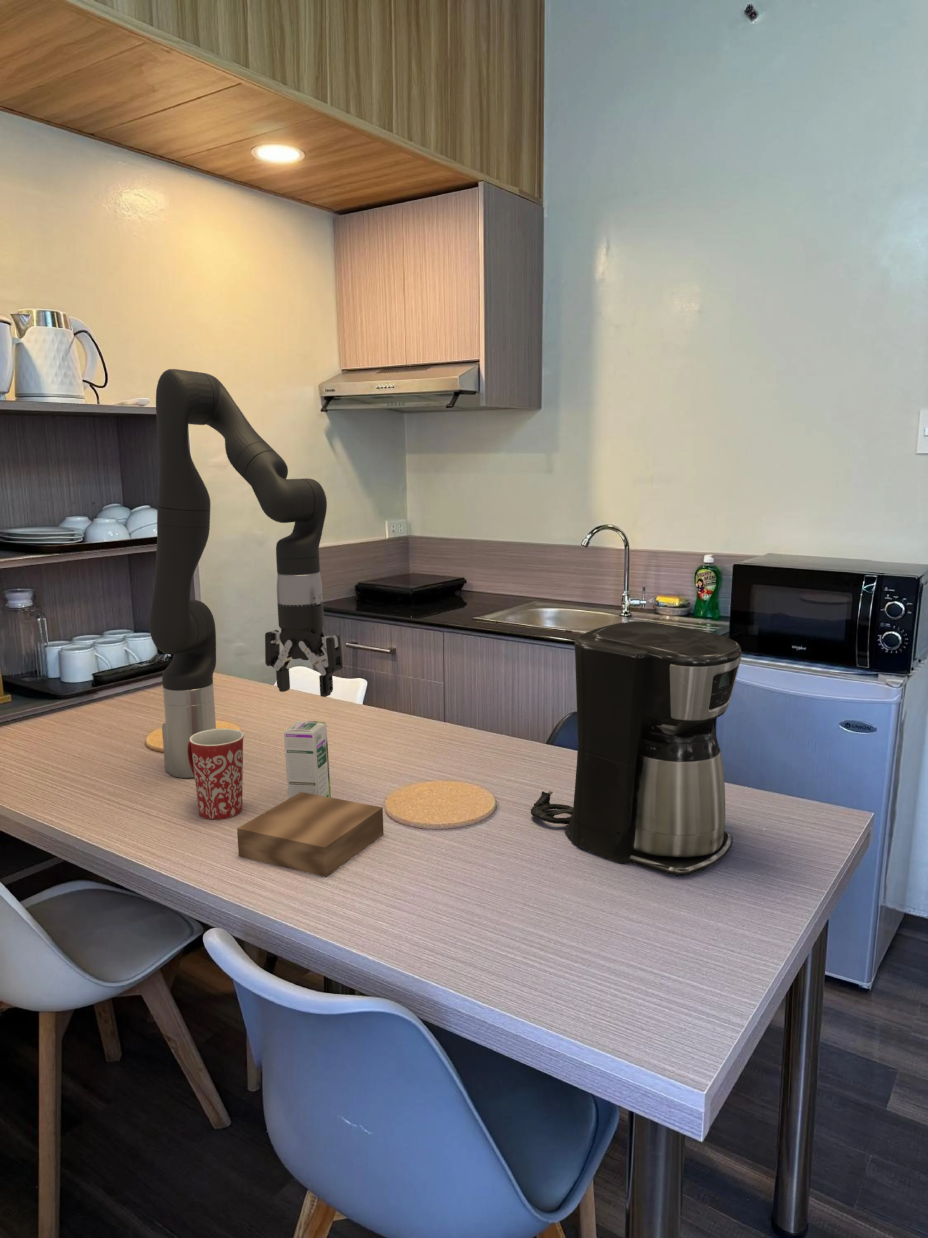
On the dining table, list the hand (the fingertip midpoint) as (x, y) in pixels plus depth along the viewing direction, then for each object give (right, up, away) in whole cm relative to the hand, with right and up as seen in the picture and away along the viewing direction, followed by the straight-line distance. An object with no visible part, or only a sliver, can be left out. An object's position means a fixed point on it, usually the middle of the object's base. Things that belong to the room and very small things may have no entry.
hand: (305, 693), depth 148 cm
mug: (-16, -20, +2) cm, 26 cm away
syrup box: (0, -20, +4) cm, 20 cm away
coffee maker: (+55, -22, -9) cm, 60 cm away
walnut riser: (+3, -23, -12) cm, 26 cm away
